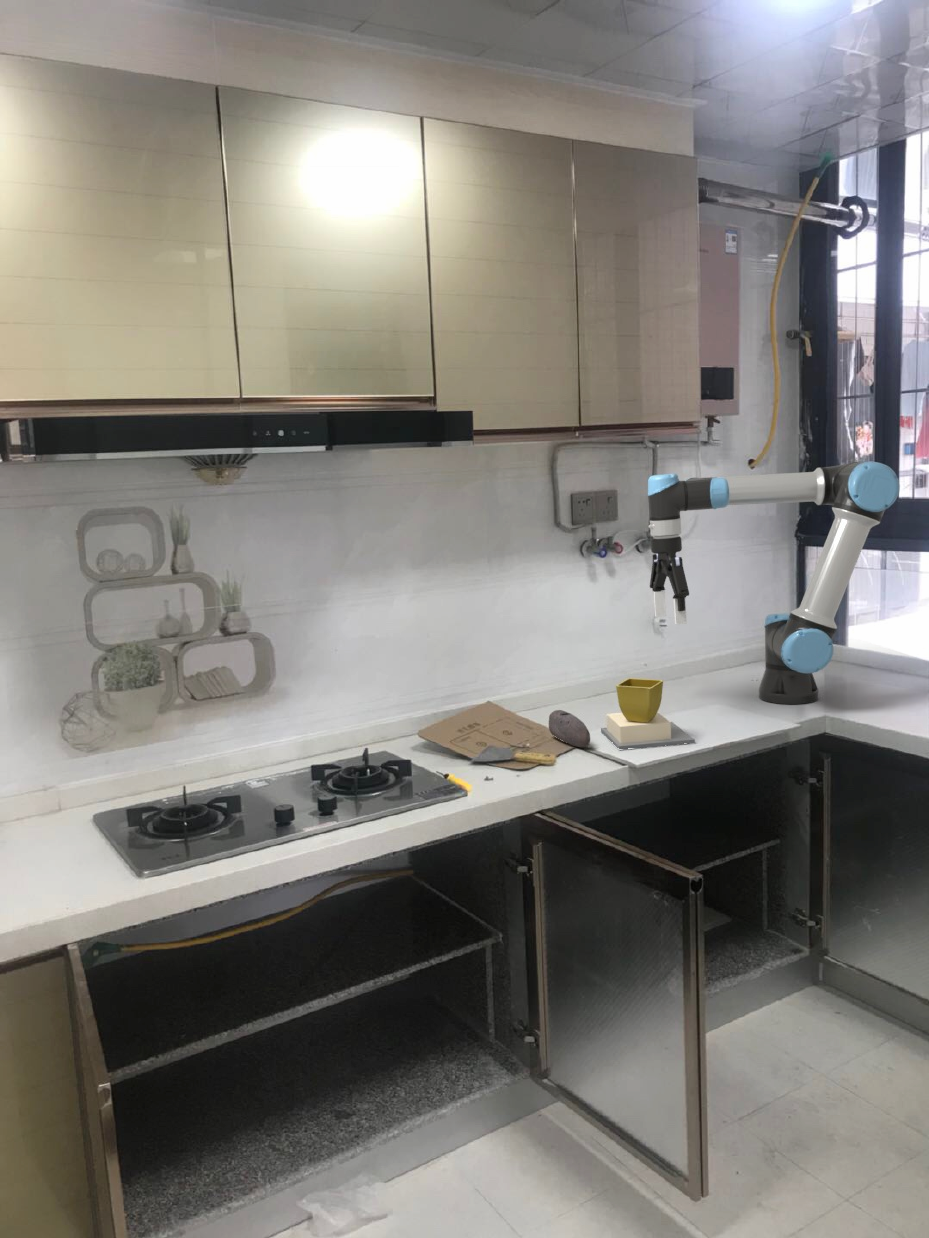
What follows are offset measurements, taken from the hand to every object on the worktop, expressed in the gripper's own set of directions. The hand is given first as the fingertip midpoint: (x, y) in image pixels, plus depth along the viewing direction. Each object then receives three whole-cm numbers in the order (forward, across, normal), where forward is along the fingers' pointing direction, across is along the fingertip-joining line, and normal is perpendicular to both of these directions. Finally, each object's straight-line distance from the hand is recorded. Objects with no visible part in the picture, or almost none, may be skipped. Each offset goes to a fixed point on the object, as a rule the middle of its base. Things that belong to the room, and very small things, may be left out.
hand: (670, 620), depth 241 cm
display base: (+25, +16, -14) cm, 33 cm away
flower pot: (+20, +18, -16) cm, 31 cm away
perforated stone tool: (+24, +14, -32) cm, 43 cm away
